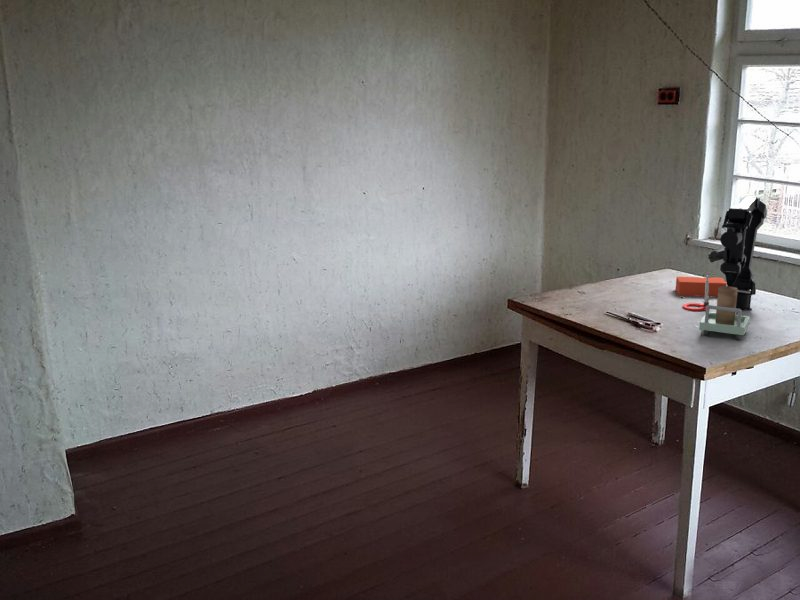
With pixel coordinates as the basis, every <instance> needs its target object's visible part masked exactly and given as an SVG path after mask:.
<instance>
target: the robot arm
mask: <svg viewBox="0 0 800 600" xmlns="http://www.w3.org/2000/svg"><path fill="white" fill-rule="evenodd" d="M767 215H768V209H767V205H766V204H765V203H764V202H762V201H761V199H760V197H759V196H752V195H751V196H749V195H747V196H744V197H743V199H742V201H741V202H740V203H739V204H738V205H734V206H730V207H729V208H728V209H727V210H726V212H725V216H724V220H723V224H722V228H725V229H726V231H725V232H724V233H722V234H721V236H720V240H719V241H720V244H721V245H722V246H723V247H724V248H721V249H714V250H711V251H709V252H708V253H707V256H708V259H709V262H710V263H713V262H717V261H721V260H722V261H723V262H722V263H721V264H720V268H719V271H720V272H721V273H722V274H723V275H724V276H725V282H726V283H727V286H730V287H735V288H737V289H738V291H737V301H736V308H737V309H740V310H742V311H753V308H752V307H751V302H752V296H754V295H756V292H757V287H756V285H757V283H756V281H755V279H754V277H755V275H754V273H753V270H752V268H751V267H752V264H753V263H752V262H753V257H754V256H753V255H754V250H755V245H756V240H757V233H758V230H759V229H760V228H761V227H762V226H763V224H764V222H765V220H766V219H767Z"/></svg>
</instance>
